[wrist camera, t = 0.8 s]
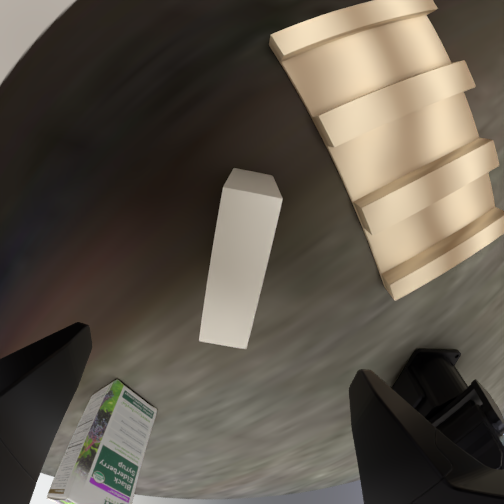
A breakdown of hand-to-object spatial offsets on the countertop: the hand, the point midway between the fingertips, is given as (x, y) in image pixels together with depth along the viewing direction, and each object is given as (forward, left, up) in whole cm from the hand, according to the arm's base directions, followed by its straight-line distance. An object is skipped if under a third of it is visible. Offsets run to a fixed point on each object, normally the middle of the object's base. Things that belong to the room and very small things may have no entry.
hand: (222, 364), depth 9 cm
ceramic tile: (0, 0, -12) cm, 12 cm away
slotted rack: (-10, -9, -12) cm, 18 cm away
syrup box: (+9, +21, -13) cm, 26 cm away
